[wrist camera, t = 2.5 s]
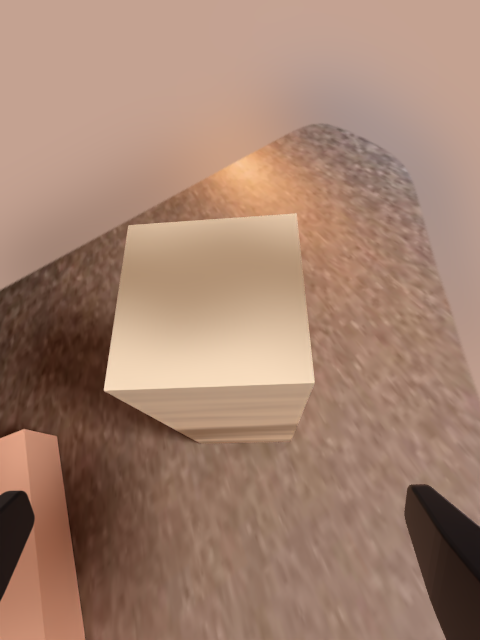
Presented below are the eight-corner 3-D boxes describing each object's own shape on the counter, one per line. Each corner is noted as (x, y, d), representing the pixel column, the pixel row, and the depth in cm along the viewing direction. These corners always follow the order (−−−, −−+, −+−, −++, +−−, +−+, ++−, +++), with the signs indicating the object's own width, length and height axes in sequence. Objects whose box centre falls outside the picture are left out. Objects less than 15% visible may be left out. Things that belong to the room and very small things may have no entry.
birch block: (290, 441, 19) (314, 383, 8) (200, 443, 20) (103, 390, 8) (284, 355, 21) (296, 213, 10) (203, 358, 22) (128, 225, 11)
